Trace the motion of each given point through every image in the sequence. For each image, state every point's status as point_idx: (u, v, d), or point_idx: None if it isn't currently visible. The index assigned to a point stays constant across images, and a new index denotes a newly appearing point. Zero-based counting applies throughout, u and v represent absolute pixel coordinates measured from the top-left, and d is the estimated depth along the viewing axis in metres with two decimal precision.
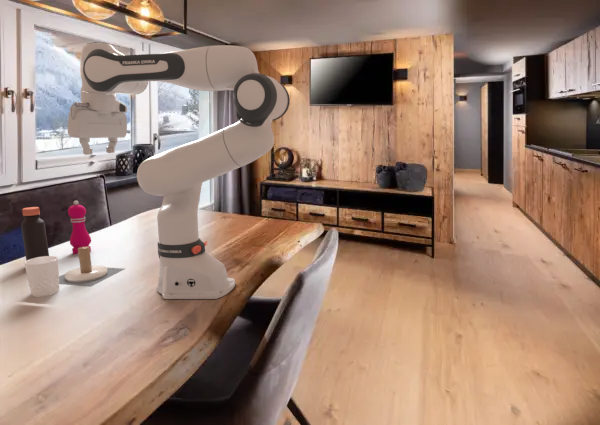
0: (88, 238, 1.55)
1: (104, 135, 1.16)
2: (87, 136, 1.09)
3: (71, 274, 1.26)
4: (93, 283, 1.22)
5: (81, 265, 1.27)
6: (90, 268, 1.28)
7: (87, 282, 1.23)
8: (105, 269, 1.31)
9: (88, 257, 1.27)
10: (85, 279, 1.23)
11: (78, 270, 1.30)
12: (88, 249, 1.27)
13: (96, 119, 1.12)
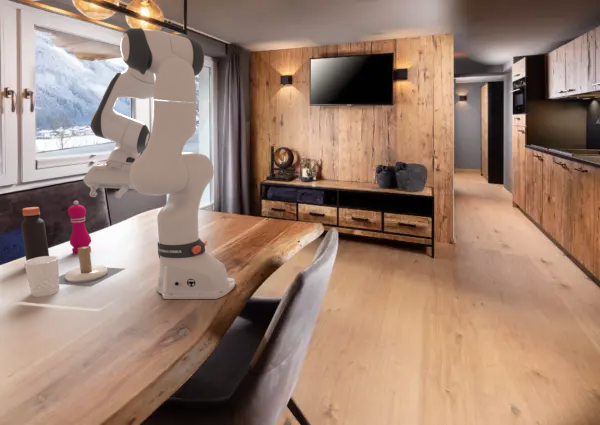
0: (88, 238, 1.55)
1: (107, 180, 1.37)
2: (90, 180, 1.39)
3: (71, 274, 1.26)
4: (93, 283, 1.22)
5: (81, 265, 1.27)
6: (90, 268, 1.28)
7: (87, 282, 1.23)
8: (105, 269, 1.31)
9: (88, 257, 1.27)
10: (85, 279, 1.23)
11: (78, 270, 1.30)
12: (88, 249, 1.27)
13: (106, 170, 1.41)
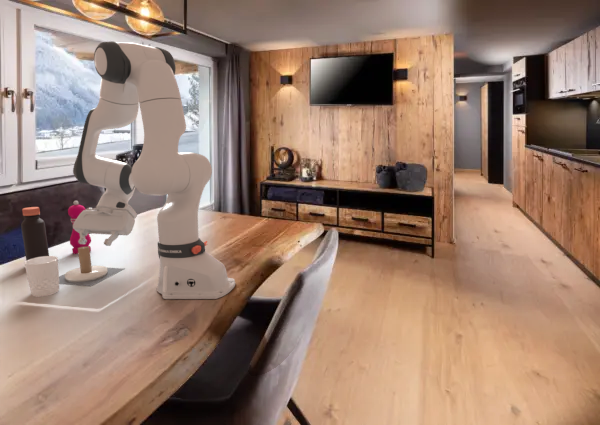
0: (88, 238, 1.55)
1: (97, 227, 1.33)
2: (79, 227, 1.34)
3: (71, 274, 1.26)
4: (93, 283, 1.22)
5: (81, 265, 1.27)
6: (90, 268, 1.28)
7: (87, 282, 1.23)
8: (105, 269, 1.31)
9: (88, 257, 1.27)
10: (85, 279, 1.23)
11: (78, 270, 1.30)
12: (88, 249, 1.27)
13: (95, 216, 1.36)
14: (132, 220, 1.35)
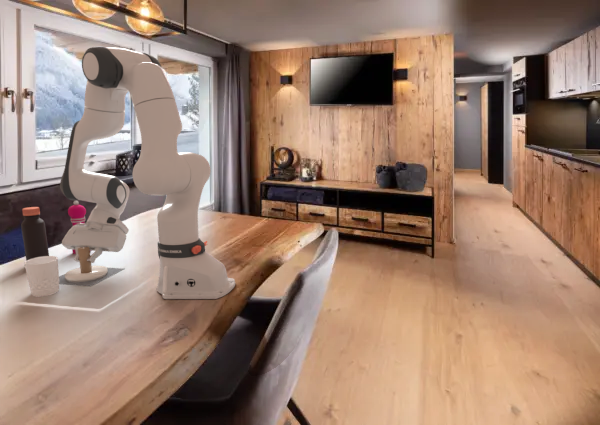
0: None
1: (87, 243, 1.29)
2: (68, 243, 1.30)
3: (72, 274, 1.26)
4: (93, 283, 1.22)
5: (81, 265, 1.27)
6: (90, 268, 1.28)
7: (87, 282, 1.23)
8: (105, 269, 1.31)
9: None
10: (86, 279, 1.23)
11: (78, 270, 1.30)
12: (88, 249, 1.27)
13: (85, 231, 1.32)
14: (123, 236, 1.31)
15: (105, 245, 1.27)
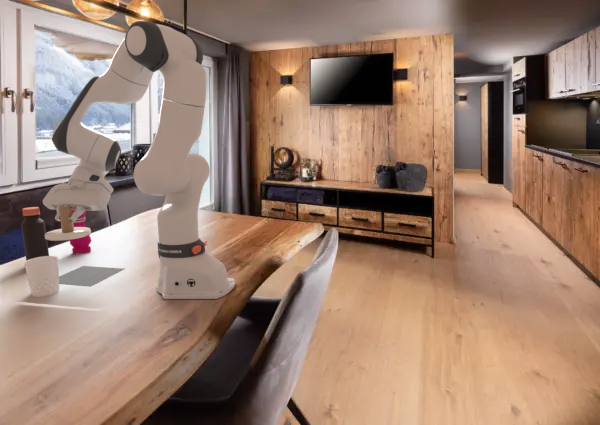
0: (88, 238, 1.55)
1: (68, 202, 1.22)
2: (49, 202, 1.23)
3: (52, 233, 1.19)
4: (93, 283, 1.22)
5: (62, 224, 1.20)
6: (72, 227, 1.21)
7: (87, 282, 1.23)
8: (88, 229, 1.23)
9: None
10: (66, 237, 1.16)
11: (59, 230, 1.23)
12: (69, 207, 1.20)
13: (68, 190, 1.25)
14: (107, 194, 1.24)
15: (87, 203, 1.20)
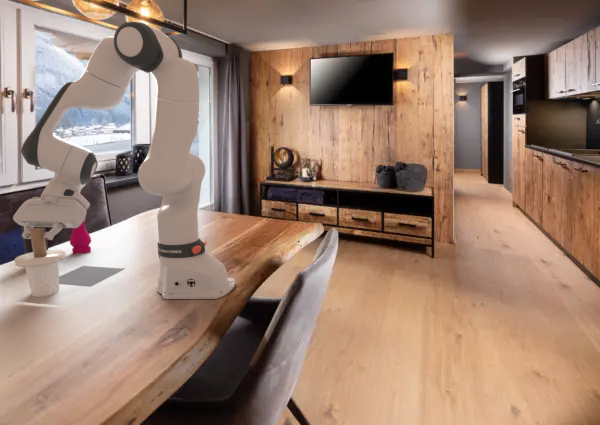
0: (88, 238, 1.55)
1: (40, 218, 1.14)
2: (20, 218, 1.15)
3: (23, 258, 1.11)
4: (93, 283, 1.22)
5: (34, 248, 1.12)
6: (45, 252, 1.13)
7: (87, 282, 1.23)
8: (62, 253, 1.16)
9: (42, 239, 1.12)
10: (37, 263, 1.08)
11: (31, 254, 1.15)
12: (42, 230, 1.12)
13: (40, 205, 1.17)
14: (83, 210, 1.16)
15: (61, 220, 1.12)
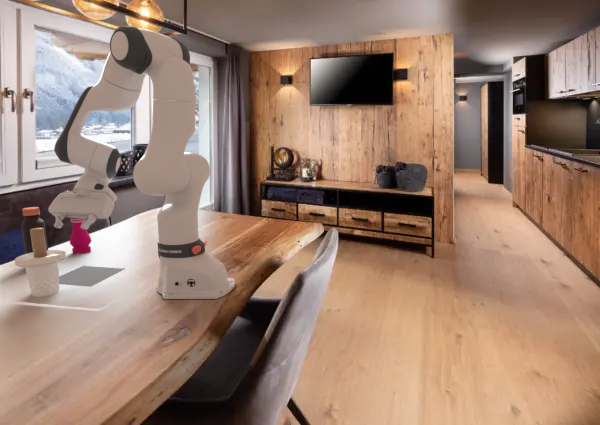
0: (88, 238, 1.55)
1: (74, 210, 1.26)
2: (55, 210, 1.27)
3: (23, 258, 1.11)
4: (93, 283, 1.22)
5: (34, 248, 1.12)
6: (45, 252, 1.13)
7: (87, 282, 1.23)
8: (62, 253, 1.16)
9: (42, 239, 1.12)
10: (37, 263, 1.08)
11: (32, 254, 1.15)
12: (42, 230, 1.12)
13: (73, 198, 1.29)
14: (111, 203, 1.28)
15: (92, 211, 1.24)
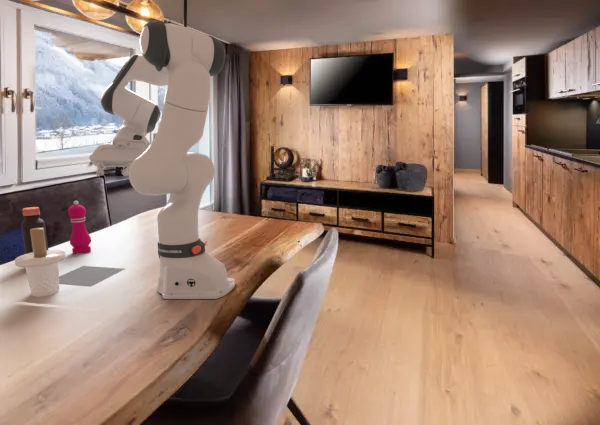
0: (88, 238, 1.55)
1: (114, 158, 1.34)
2: (96, 159, 1.36)
3: (23, 258, 1.11)
4: (93, 283, 1.22)
5: (34, 248, 1.12)
6: (45, 252, 1.13)
7: (87, 282, 1.23)
8: (62, 253, 1.16)
9: (42, 239, 1.12)
10: (37, 263, 1.08)
11: (32, 254, 1.15)
12: (42, 230, 1.12)
13: (112, 149, 1.38)
14: None
15: (132, 159, 1.33)
